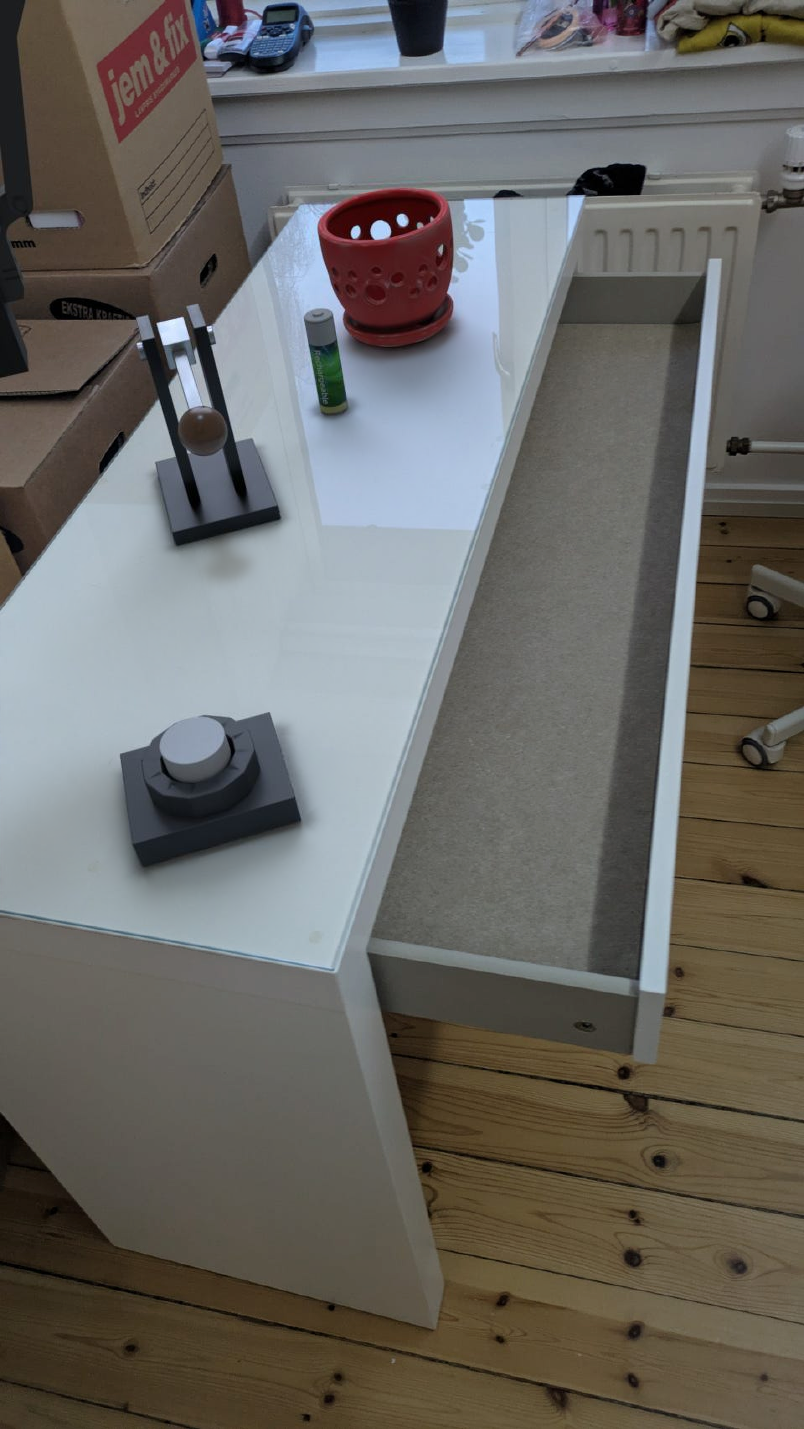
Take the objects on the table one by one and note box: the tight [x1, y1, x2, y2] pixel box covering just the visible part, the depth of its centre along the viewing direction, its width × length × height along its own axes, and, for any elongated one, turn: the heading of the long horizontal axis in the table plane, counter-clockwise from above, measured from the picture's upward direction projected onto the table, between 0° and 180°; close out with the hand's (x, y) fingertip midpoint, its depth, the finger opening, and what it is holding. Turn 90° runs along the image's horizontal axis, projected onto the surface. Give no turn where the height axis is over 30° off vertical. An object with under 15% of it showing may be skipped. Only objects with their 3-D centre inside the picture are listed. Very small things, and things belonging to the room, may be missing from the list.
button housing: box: [119, 711, 302, 868], centre depth 68 cm, size 10×8×4 cm
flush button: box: [160, 716, 231, 783], centre depth 67 cm, size 4×4×2 cm
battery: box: [303, 307, 349, 416], centre depth 101 cm, size 3×3×10 cm
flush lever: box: [156, 316, 228, 456], centre depth 83 cm, size 13×4×4 cm, turn 16°
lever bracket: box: [135, 303, 282, 546], centre depth 90 cm, size 12×9×16 cm
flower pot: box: [316, 187, 455, 348], centre depth 110 cm, size 13×13×12 cm
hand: (13, 363), depth 57 cm, fingers closed
